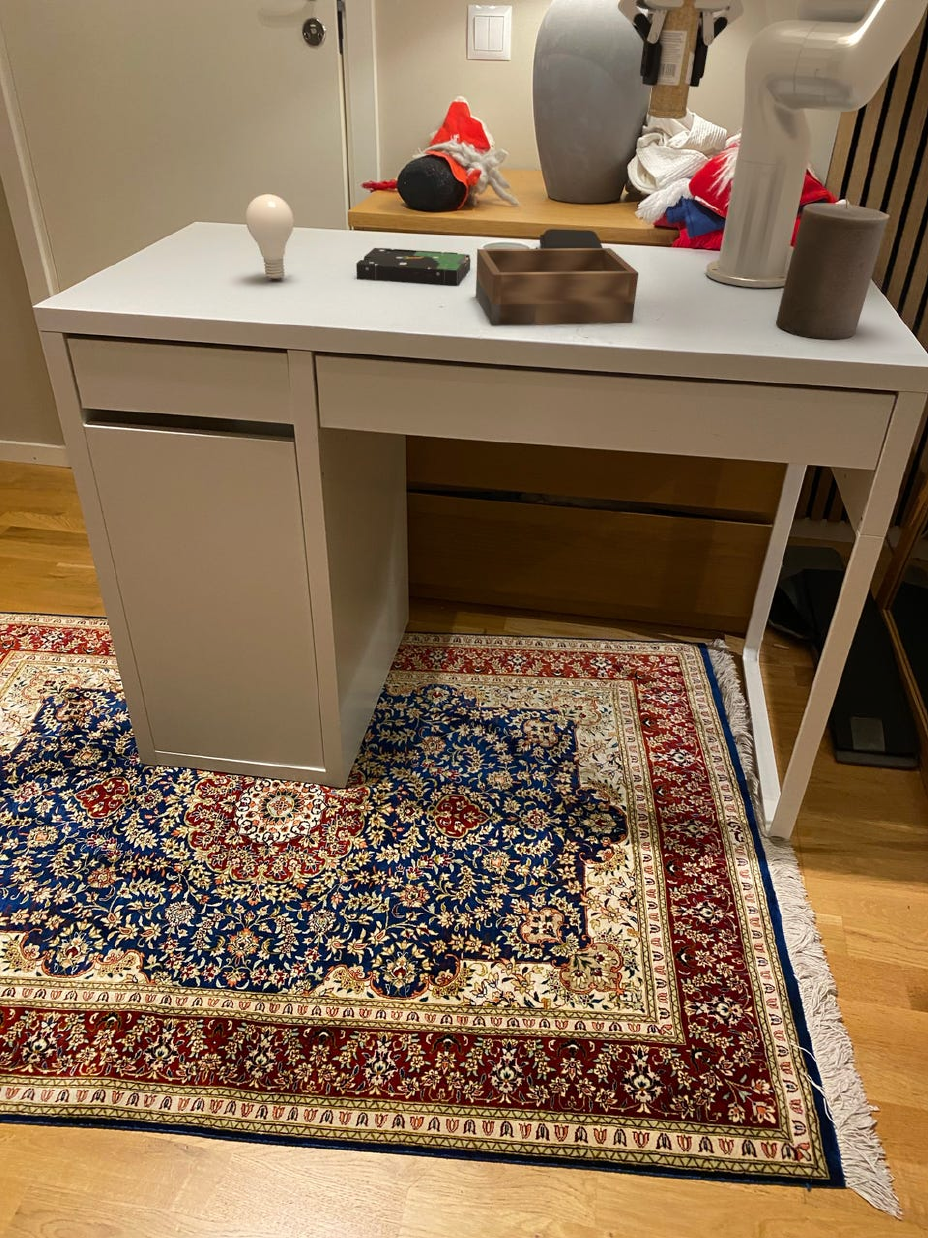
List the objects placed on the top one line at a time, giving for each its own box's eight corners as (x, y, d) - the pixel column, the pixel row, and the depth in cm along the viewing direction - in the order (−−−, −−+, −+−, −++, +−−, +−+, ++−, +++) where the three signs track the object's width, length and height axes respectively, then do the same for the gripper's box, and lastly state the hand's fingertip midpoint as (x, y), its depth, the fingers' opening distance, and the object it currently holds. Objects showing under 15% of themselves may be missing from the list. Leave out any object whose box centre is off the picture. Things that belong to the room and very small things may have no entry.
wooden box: (605, 293, 123) (610, 247, 120) (632, 322, 113) (638, 272, 109) (475, 295, 121) (477, 249, 118) (491, 325, 111) (493, 274, 107)
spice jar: (694, 118, 104) (716, -25, 96) (666, 119, 102) (687, -27, 94) (665, 114, 107) (685, -25, 99) (638, 115, 105) (655, -27, 97)
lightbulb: (273, 271, 129) (265, 188, 123) (307, 278, 126) (301, 193, 120) (242, 281, 124) (232, 194, 118) (278, 288, 122) (269, 200, 116)
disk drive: (356, 284, 127) (459, 289, 125) (355, 263, 126) (459, 268, 124) (374, 266, 136) (470, 271, 134) (373, 246, 134) (471, 251, 132)
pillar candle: (781, 336, 109) (813, 203, 101) (771, 313, 117) (800, 188, 109) (863, 343, 108) (902, 209, 100) (847, 319, 116) (883, 193, 108)
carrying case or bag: (532, 245, 148) (534, 267, 136) (533, 225, 146) (536, 246, 134) (597, 247, 148) (605, 270, 136) (599, 228, 146) (607, 249, 134)
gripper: (759, -112, 97) (725, 85, 107) (610, -123, 94) (590, 80, 104) (792, -120, 91) (752, 90, 101) (632, -131, 88) (609, 85, 98)
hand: (670, 83), depth 102 cm, fingers closed on spice jar, 4 cm apart
